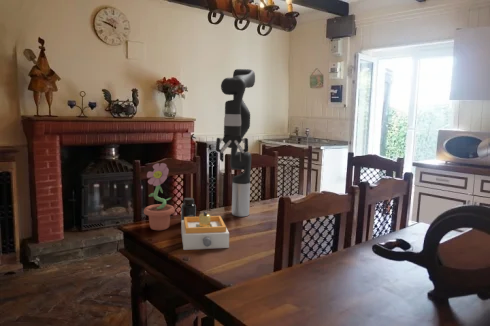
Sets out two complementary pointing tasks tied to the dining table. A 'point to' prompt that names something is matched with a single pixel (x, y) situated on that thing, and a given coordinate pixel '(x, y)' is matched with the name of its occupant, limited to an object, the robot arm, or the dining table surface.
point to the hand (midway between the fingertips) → (231, 161)
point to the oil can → (204, 220)
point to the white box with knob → (204, 234)
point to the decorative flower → (158, 212)
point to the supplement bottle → (188, 208)
